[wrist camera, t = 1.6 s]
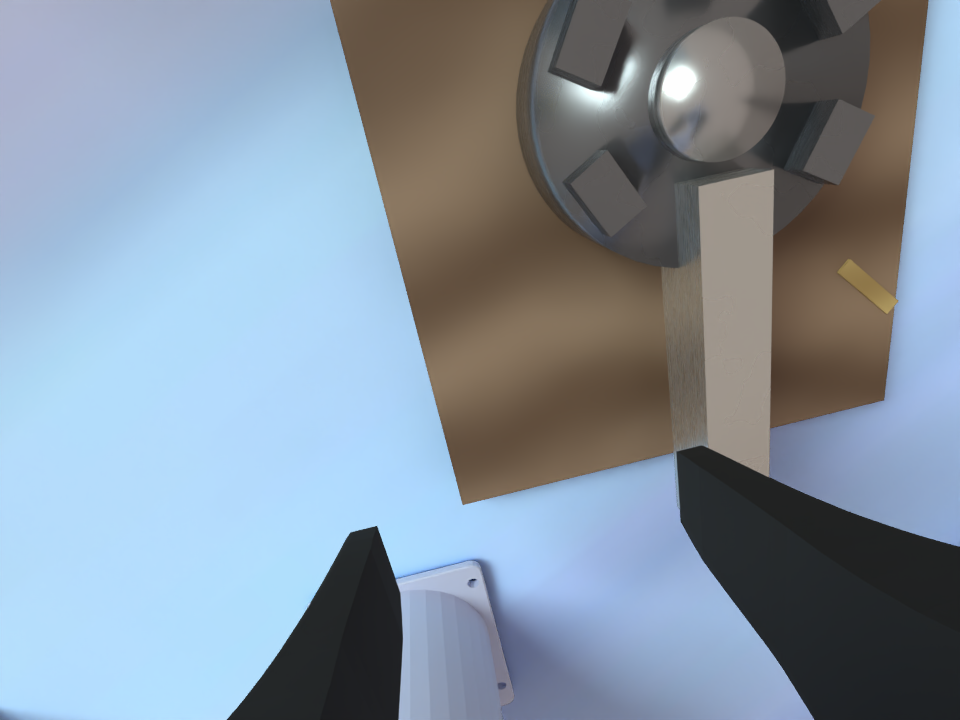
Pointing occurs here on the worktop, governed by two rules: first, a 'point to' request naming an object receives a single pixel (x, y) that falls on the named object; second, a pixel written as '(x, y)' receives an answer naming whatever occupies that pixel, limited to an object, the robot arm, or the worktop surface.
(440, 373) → the walnut base
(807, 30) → the handled metal disc
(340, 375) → the worktop surface
